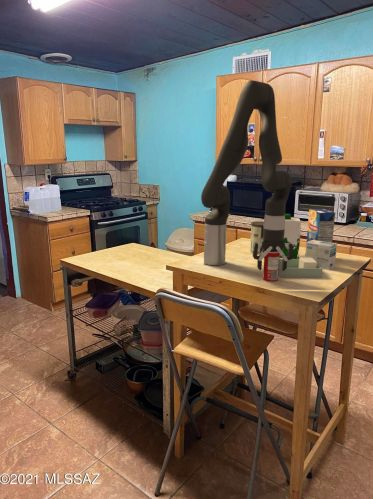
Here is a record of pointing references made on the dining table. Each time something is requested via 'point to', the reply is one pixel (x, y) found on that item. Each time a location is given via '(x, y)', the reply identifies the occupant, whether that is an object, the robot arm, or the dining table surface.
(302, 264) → the cream white block
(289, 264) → the tote
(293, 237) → the milk carton
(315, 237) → the beverage box
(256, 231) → the coffee can
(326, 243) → the light bulb box
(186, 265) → the dining table surface
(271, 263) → the soda can
